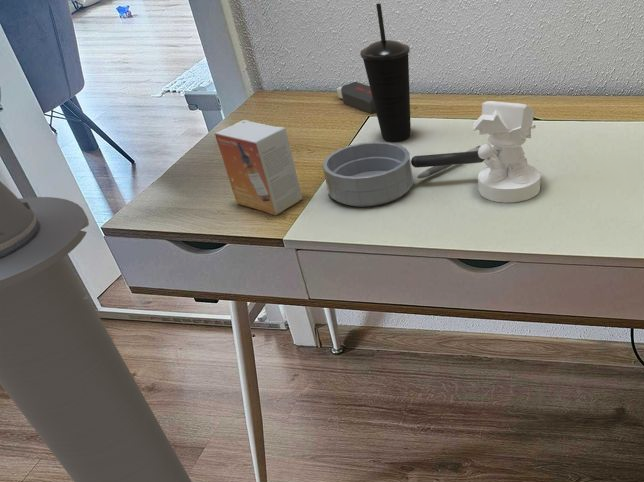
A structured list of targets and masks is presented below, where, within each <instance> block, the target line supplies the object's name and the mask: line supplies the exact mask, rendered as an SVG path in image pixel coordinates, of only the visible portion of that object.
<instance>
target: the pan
mask: <svg viewBox="0 0 644 482" xmlns="http://www.w3.org/2000/svg"><path fill="white" fill-rule="evenodd" d="M322 170H323V174H324V175H323V176H324V179H325V183H326V187H327V188H326V189H327V192H328V194H329V196H330V198H331V199H333V200H334V201H336V202H338V203H341V204H343V205H346V206H348V207H349V206H351V207H358V208H361V207H362V208H363V207H364V208H365V207H367V208H368V207H376V206H381V205H385V204H388V203H391V202H394V201H395V200H398V199H400V198H401V197H403V196H404V195H405V194H406V193H408V192H409V191H410V189H411V188H412V187H413V185H414V177H413V176H414V175H413V168H412V164H411V153H410V152H409V150H408V149H407V147H404V146H402V145H401V144H398V143H395V142H389V141H368V142H367V141H366V142H360V143H355V144H349V145H347V146H344V147H341V148H338V149H336V150H335V151H333V152H331V153H330V154H329V155H328V156H326V158H324V160H323V162H322Z"/></svg>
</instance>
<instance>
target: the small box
mask: <svg viewBox="0 0 644 482" xmlns="http://www.w3.org/2000/svg"><path fill="white" fill-rule="evenodd" d="M214 136H215V139H216V142H217V145H218V149H219V152H220V156H221V158H222V162H223V165H224V168H225V171H226V174H227V177H228V181H229V185H230V186H231V190H232V193H233V196H234V199H235V202H236V204H237V205H241V206H245V207H248V208H251V209H254V210H257V211H261V212H264V213H268V214H270V215H272V216H277V215H279V214H281V213H282V212H284V211H285V210H288V208H290V207H293V206H294V205H295V204H297V203H298V202H300V201H301V200H303V194H302V191H301V186H300V181H299V178H298V173H297V169H296V166H295V161H294V157H293V153H292V149H291V145H290V141H289V137H288V133H287V129H286V127H283V126H274V125H270V124H265V123H261V122H260V123H259V122H256V121H255V122H254V121H251V120H249V119H243V120H240V121H238V122H236V123H233V124H231V125H230V126H227V127H225V128H223V129H221V130H218V131H216V132H215V133H214Z"/></svg>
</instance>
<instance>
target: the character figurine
mask: <svg viewBox="0 0 644 482" xmlns="http://www.w3.org/2000/svg"><path fill="white" fill-rule="evenodd" d="M534 116H535V110H534V108H531V107H530V106H528V105H527V104H526V103H520V102H519V103H518V102H508V101H506V102H504V101H495V100H486V101H484V102H482V104H481V115H480V116H479V117H478V118H477V120H476V121H475V122H474V124H472V130H473V131H474V132H475V131H478V135H479V136H483V135H489V136H488V138H487V141H488V142H484V143H482V144H480V145H481V146H480V145H479V146H480V147H479V149H478V155H479V157H480V158H481V159H485V160H484V161H483V163H484V164H485V165H486V167H483V168H482V169H481V170H480V171H479V172H478V174H477V191H478V193H479V194H480V196H481V197H482V198H484V199H486V200H489V201H492V202H496V203H507V204H508V203H509V204H510V203H511V204H512V203H519V202H525V201H529V200H530V199H533V198H534V197H535V196H537V195H538V194H539V193H540V191H541V171H539V169H538V168H536V166H533V165H531V164H528V158H526V156H525V154H526V153H525V150H524V149H523V147H522V146H523V145H524V144H525V143H526V141H527V139H532V130H533V129H536V125H537V124H535V123H534ZM491 145H492V146H491Z"/></svg>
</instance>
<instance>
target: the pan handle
mask: <svg viewBox="0 0 644 482" xmlns="http://www.w3.org/2000/svg"><path fill="white" fill-rule="evenodd" d="M410 160H411V167H413V168H418V169H419V168H431V167H433V166H444V165H452V166H453V165H467V164H481V163H484V161H485V159H481V158H480V157H479V155H478V151H471V152H466V151H460V152H459V151H458V152H448V153H435V154H424V155H415V156H414V155H413V157H411V158H410Z"/></svg>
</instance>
